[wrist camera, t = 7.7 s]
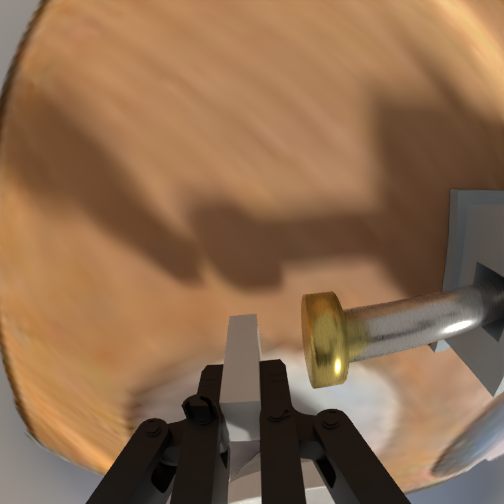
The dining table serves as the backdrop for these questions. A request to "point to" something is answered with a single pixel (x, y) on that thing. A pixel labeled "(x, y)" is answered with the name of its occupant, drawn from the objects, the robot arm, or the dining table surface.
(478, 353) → the block
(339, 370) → the pin
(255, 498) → the bowl
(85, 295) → the dining table surface
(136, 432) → the robot arm
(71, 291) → the dining table surface
